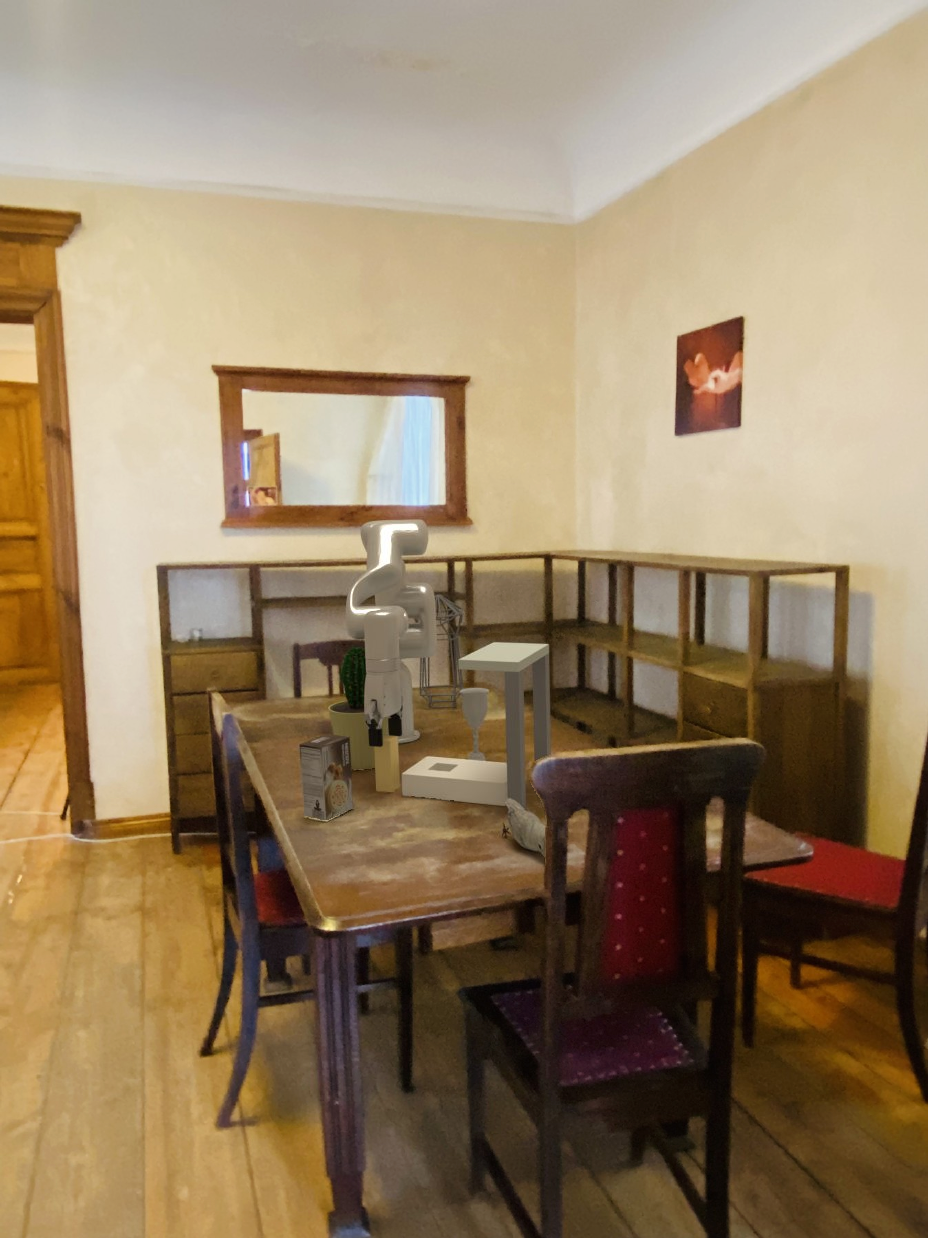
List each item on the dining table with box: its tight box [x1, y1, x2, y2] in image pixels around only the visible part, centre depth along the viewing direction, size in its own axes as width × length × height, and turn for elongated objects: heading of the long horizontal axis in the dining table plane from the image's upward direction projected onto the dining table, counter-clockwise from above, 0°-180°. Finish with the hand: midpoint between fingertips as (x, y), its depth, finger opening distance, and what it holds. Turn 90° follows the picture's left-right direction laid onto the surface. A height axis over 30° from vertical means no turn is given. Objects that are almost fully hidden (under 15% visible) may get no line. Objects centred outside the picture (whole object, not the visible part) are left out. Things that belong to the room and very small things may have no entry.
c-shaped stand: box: [458, 641, 552, 812], centre depth 199 cm, size 13×22×32 cm, turn 159°
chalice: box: [459, 687, 490, 761], centre depth 225 cm, size 7×7×18 cm
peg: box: [374, 735, 401, 793], centre depth 206 cm, size 4×4×12 cm
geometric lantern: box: [413, 594, 464, 709], centre depth 285 cm, size 16×16×35 cm
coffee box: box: [299, 733, 355, 820], centre depth 191 cm, size 9×6×16 cm
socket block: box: [401, 755, 508, 807], centre depth 204 cm, size 24×14×5 cm, turn 69°
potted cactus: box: [327, 646, 390, 770], centre depth 225 cm, size 15×15×30 cm
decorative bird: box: [501, 798, 547, 858], centre depth 170 cm, size 5×16×8 cm, turn 25°
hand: (385, 740), depth 205 cm, fingers open, 9 cm apart
